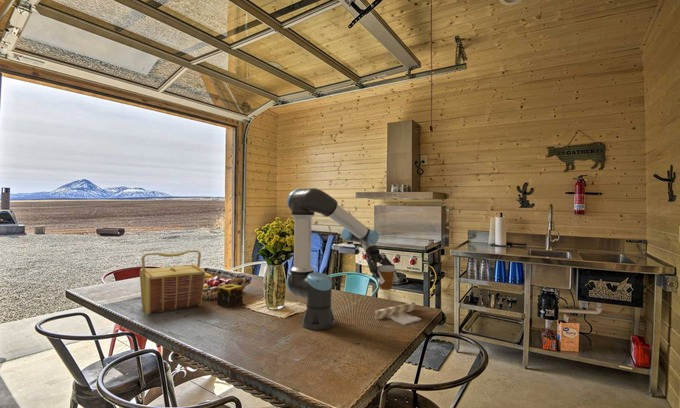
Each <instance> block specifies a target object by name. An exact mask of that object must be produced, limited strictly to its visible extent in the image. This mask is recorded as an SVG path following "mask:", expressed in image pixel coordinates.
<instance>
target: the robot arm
mask: <svg viewBox="0 0 680 408" xmlns="http://www.w3.org/2000/svg"><path fill="white" fill-rule="evenodd" d="M286 201H287V202H286V203H287V207H288V208H289V209H290V211H291V212H290V213H291V216H292V218H293V219H294V221H293V225H294V227H293V228H294V229H293V232H294V233H293V241H294V242H293V266H292V267H291V268H290V272H289V273H288V276H287V277H286V287H287V289H288V291H289V292H290V293H292V294H293V295H294V296H297V297H301V298H304V299H306V308H305V312H304V315H303V317H302V327H303V328H305V329H308V330H313V331H324V330H329V329H331V328H333V327H334V326H335V317H334V312H333V311H332V310H333V309H332V291H333V290H332V287H333V284H332V278H331V276H330V275H328V274H326V273H323V272H315V268H313V266H312V219H313V217H315V213H317V214H321V215H322V216H324V217H327V218H328V217H329V218H330V219H332V220H333V222H336V223H337V224H338V225H340V226H341V227H342V228H343V229H342V231H341V235H340V236H341V238H342V240H343V241H346V242H353V243H355V242H356V243H360V245H361V247H362V249H363V250H364V252H365V254H366V257H365V261H366V262H367V265H368V269H369V272H370V274H372V275H375V278H376V279H377V280H378V282H379V281H380V283H381V284H383V283H384V282H385V281H384V279H383V277H382V275H381V274H380V272H379V271H378V269H377V268H378V263H379V264H380V265H389V266H393V267H394V269H396V268H395V267H396V266H395V265H394V264H393V263H392V262H391V260H389V258H388V257H387V255H386V254H383V255H382V254H381V253H380V249H379V247H378V246H377V244H376V243H378V242H379V239H380V235H379V232H378V231H377V230H375V229H370V228H369V227H367V226H366V225H365V224H364V223H363V222H361V221H360V220H359V219H357V218H356V217H355V216H353V214H351V213H350V212H348V211H347V210H346V209H344V208H343V207H342V206H340V205H339V204H338V201H337V200H336V199H335V198H333V196H331V195H330V194H328V193H326V192H325V191H323V190H321V189H319V188H316V187H309V188H298V189H294V190H292V191H291V192H290V193H289V195H288V197H287V200H286ZM398 280H399V278H398V276H397V275H396V272H395V271H394V274H393V280H392V281H393V282H394V283H396V282H397V281H398Z"/></svg>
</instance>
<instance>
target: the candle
mask: <svg viewBox="0 0 680 408" xmlns="http://www.w3.org/2000/svg"><path fill="white" fill-rule="evenodd" d="M243 289H244V287H243V285H239V284H234V283H233V284H232V283H229V284H225V285H221V286H220V285H219V286H217V288H216V291H217V293H216V297H217V299H216V305H219V306H221V307H225V308H231V307H235V306H237V305H242V304H243V303H244V301H243V300H244V297H243Z"/></svg>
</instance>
